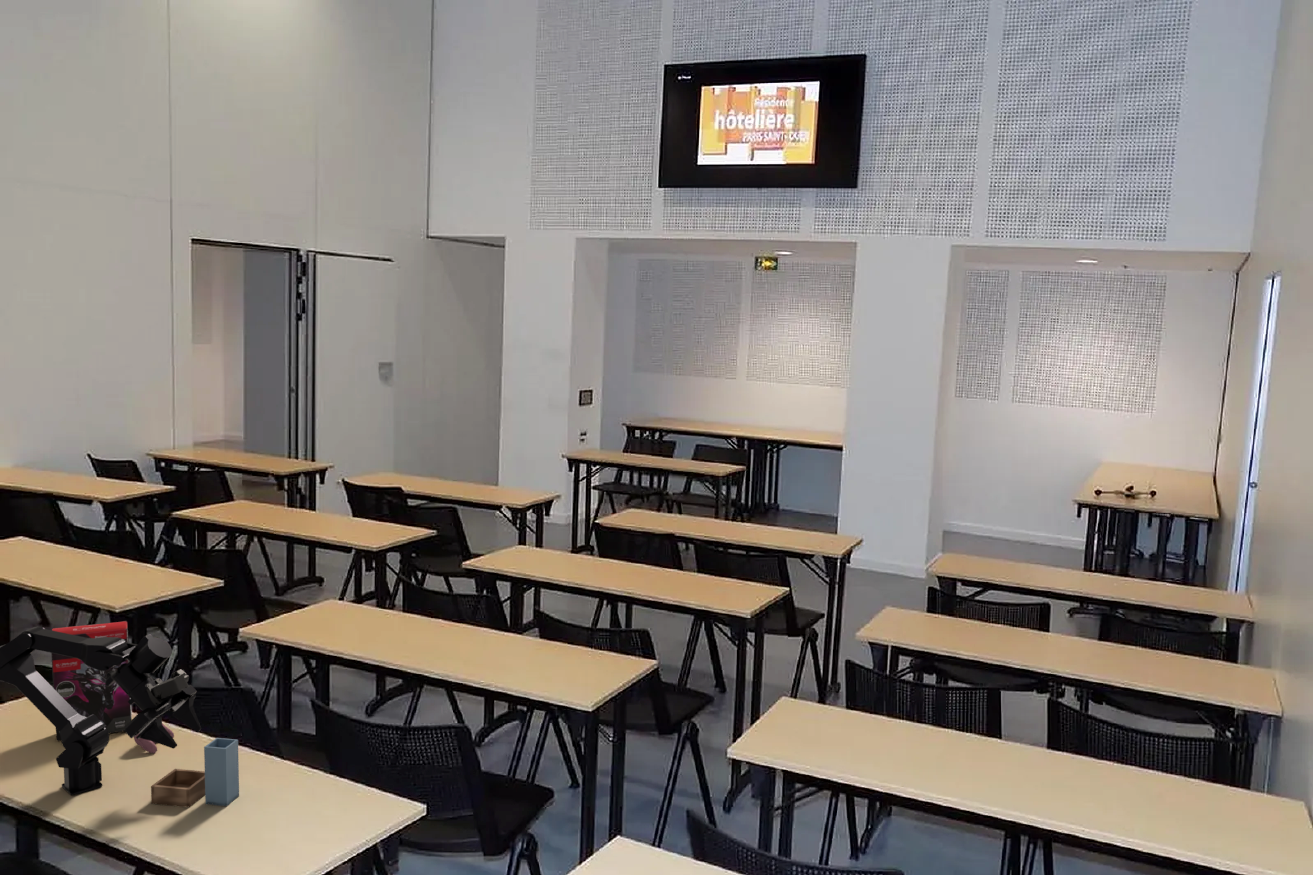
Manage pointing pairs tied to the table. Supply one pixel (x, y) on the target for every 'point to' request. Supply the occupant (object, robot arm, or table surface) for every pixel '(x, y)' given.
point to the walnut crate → (179, 788)
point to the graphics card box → (92, 681)
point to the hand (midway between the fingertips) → (187, 738)
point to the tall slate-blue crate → (221, 771)
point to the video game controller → (150, 742)
